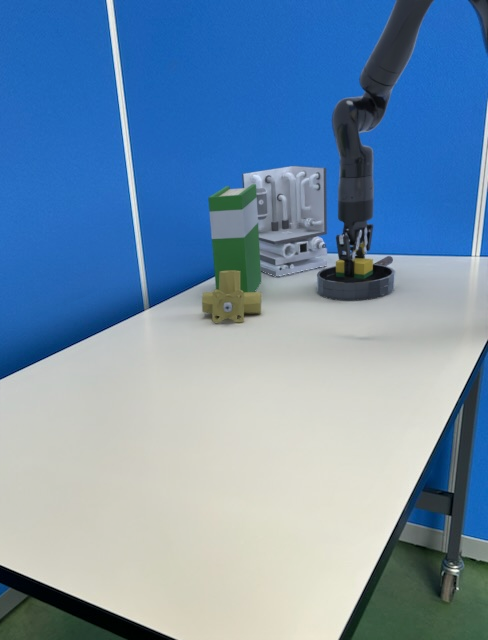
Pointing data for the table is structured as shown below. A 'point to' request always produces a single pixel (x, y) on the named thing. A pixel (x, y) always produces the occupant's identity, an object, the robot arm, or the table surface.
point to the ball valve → (230, 299)
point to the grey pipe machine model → (290, 217)
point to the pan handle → (385, 261)
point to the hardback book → (236, 235)
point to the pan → (356, 284)
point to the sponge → (356, 268)
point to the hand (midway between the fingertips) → (354, 274)
